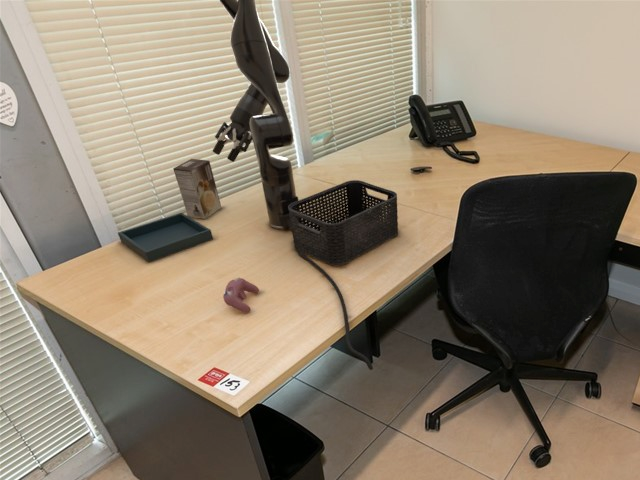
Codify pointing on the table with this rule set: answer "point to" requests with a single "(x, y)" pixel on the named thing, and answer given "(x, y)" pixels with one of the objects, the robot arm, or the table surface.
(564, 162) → the table surface
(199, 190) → the coffee box
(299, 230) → the storage bin
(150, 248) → the tray
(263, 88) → the robot arm
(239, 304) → the video game controller
